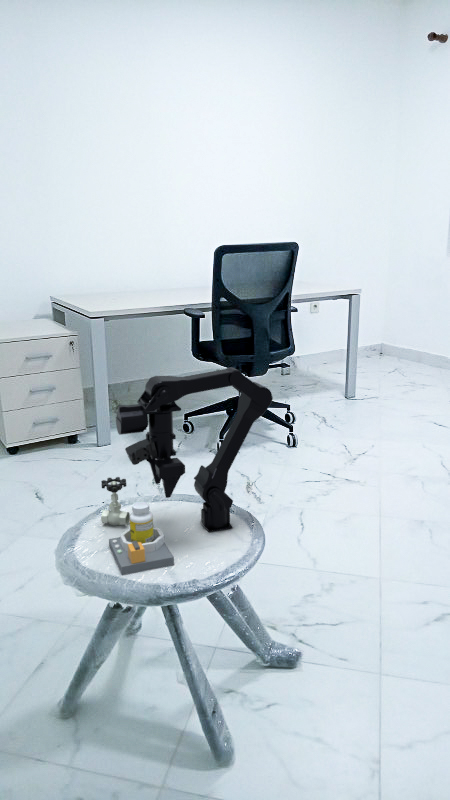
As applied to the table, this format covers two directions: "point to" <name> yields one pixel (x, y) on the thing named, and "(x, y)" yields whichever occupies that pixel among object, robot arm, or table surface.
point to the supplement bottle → (141, 523)
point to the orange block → (136, 552)
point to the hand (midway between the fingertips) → (162, 490)
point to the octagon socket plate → (154, 553)
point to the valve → (114, 504)
